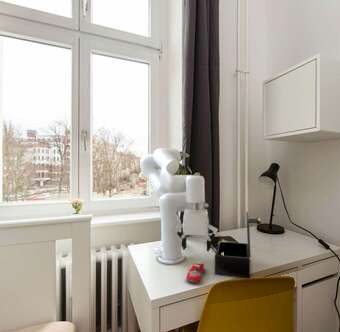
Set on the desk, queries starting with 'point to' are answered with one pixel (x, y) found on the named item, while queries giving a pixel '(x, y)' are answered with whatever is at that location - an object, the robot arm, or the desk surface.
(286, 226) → the desk surface
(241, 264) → the bin
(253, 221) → the bin lid
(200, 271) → the race car
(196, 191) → the robot arm
